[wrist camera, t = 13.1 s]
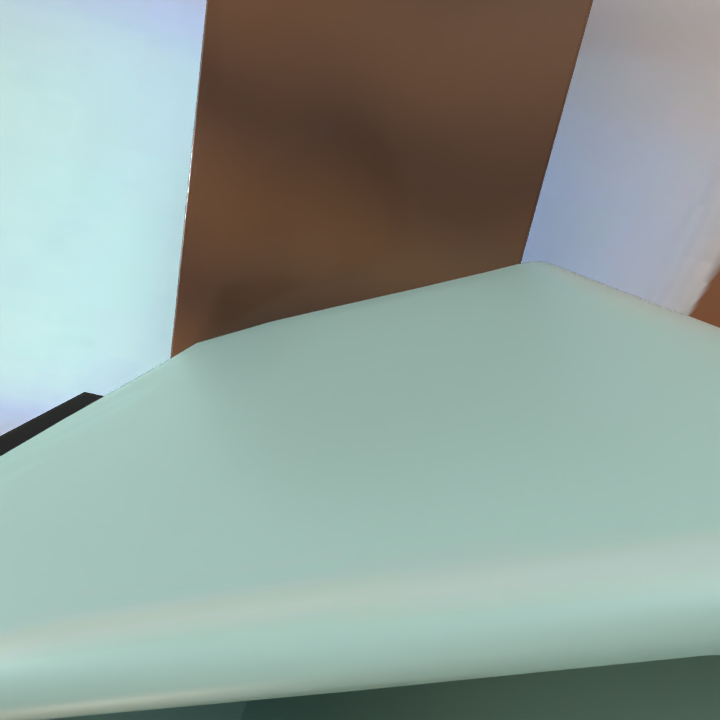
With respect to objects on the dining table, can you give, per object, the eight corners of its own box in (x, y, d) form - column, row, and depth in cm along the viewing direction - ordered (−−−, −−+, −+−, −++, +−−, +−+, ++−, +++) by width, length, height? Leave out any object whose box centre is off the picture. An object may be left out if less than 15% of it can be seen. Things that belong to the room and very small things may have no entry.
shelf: (308, -39, 23) (227, -222, 13) (543, 4, 22) (636, -155, 13) (230, 498, 30) (141, 631, 20) (407, 539, 29) (401, 696, 20)
